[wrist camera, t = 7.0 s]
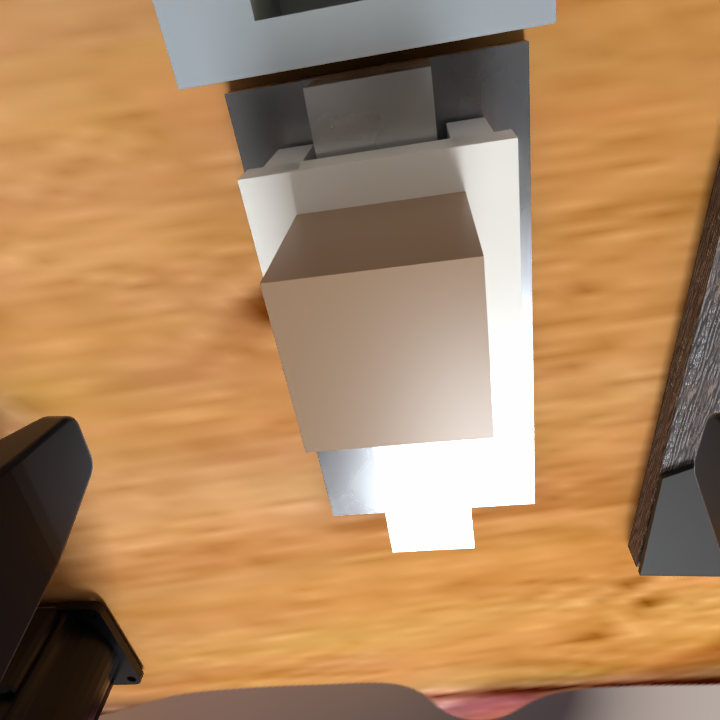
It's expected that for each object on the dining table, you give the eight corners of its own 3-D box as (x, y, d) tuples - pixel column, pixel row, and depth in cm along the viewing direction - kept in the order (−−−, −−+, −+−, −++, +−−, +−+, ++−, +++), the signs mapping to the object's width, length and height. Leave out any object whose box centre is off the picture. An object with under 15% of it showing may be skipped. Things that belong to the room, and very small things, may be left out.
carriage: (507, 317, 18) (554, 470, 12) (309, 339, 19) (263, 490, 13) (500, 114, 15) (556, 188, 9) (264, 151, 16) (180, 239, 10)
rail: (532, 492, 23) (544, 544, 21) (335, 505, 24) (327, 555, 22) (524, 39, 15) (544, 46, 13) (230, 91, 16) (201, 105, 14)
